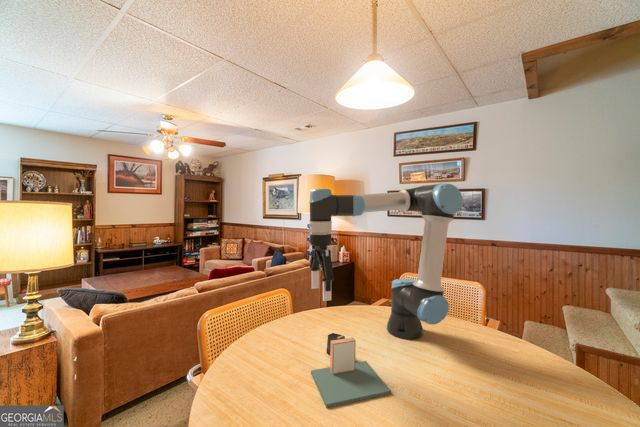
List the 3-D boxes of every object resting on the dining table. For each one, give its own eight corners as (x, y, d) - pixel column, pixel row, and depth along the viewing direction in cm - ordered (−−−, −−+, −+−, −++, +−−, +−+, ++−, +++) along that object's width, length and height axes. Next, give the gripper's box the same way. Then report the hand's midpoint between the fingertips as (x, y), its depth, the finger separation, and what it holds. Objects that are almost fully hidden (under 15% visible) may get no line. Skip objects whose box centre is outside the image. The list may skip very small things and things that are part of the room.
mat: (366, 363, 95) (366, 360, 95) (390, 393, 80) (391, 390, 80) (310, 373, 89) (310, 370, 89) (326, 407, 74) (326, 404, 74)
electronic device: (345, 364, 95) (346, 342, 95) (325, 353, 101) (325, 333, 101) (353, 359, 98) (353, 338, 98) (333, 349, 105) (333, 330, 105)
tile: (352, 366, 91) (353, 337, 91) (355, 370, 89) (355, 340, 89) (330, 370, 89) (330, 340, 89) (332, 374, 87) (332, 343, 87)
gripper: (301, 230, 105) (301, 285, 106) (321, 237, 81) (321, 307, 82) (320, 230, 107) (320, 283, 108) (344, 236, 84) (344, 304, 84)
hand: (320, 294), depth 95 cm, fingers open, 13 cm apart
